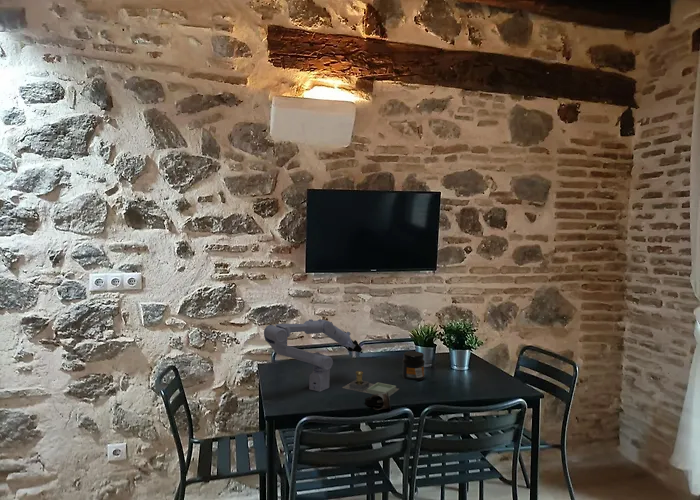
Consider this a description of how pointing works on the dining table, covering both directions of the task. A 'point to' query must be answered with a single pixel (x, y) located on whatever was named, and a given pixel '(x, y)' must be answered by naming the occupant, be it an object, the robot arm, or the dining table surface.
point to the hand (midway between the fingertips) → (356, 347)
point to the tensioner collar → (360, 386)
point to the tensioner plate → (366, 389)
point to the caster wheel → (378, 401)
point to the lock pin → (359, 377)
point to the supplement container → (413, 365)
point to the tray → (381, 388)
